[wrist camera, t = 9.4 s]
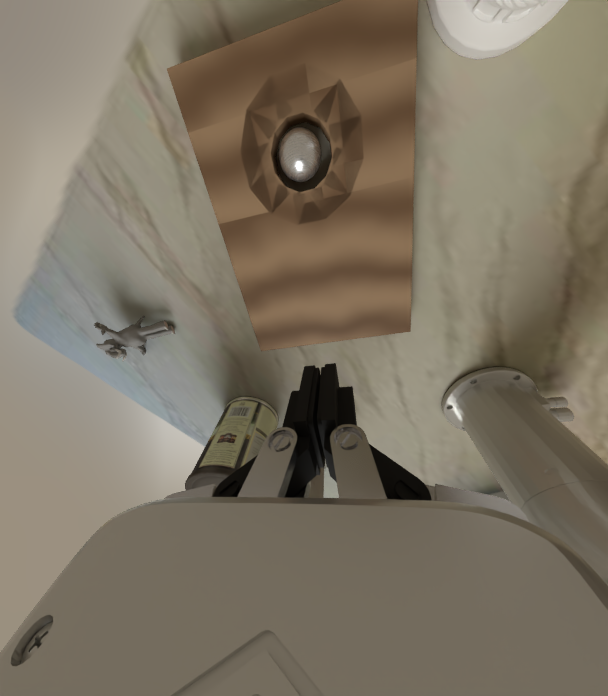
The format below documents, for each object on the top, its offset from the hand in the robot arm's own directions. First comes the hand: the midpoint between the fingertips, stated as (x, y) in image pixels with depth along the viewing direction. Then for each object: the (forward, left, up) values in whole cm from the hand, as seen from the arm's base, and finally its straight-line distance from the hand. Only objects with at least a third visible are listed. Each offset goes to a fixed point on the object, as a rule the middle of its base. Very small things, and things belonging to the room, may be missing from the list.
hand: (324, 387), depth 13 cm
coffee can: (+17, +22, -20) cm, 35 cm away
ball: (+1, -13, -18) cm, 23 cm away
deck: (0, -7, -20) cm, 21 cm away
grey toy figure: (+28, +1, -21) cm, 35 cm away
